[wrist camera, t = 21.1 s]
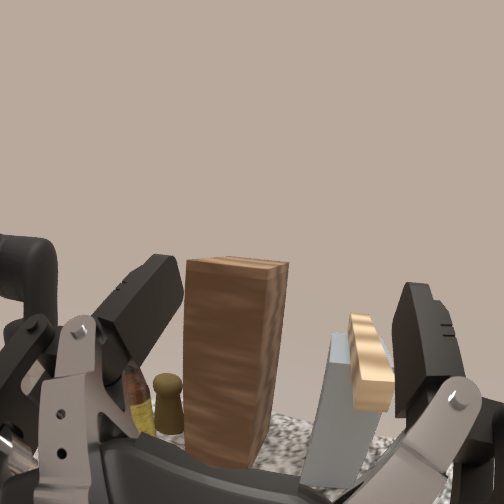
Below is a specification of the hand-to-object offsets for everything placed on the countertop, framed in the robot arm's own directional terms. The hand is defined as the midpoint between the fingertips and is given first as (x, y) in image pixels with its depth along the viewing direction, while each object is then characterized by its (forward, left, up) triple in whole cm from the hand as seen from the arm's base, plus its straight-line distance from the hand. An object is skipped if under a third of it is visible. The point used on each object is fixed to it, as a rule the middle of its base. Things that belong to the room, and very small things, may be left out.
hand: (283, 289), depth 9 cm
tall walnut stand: (-21, +21, -33) cm, 45 cm away
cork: (-32, +16, -34) cm, 49 cm away
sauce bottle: (-30, +8, -34) cm, 46 cm away
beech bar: (-4, +24, -11) cm, 27 cm away
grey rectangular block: (-6, +28, -33) cm, 44 cm away
